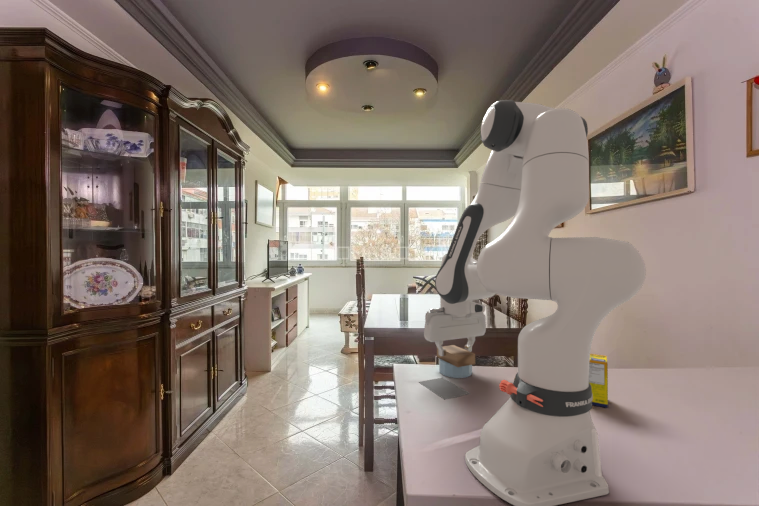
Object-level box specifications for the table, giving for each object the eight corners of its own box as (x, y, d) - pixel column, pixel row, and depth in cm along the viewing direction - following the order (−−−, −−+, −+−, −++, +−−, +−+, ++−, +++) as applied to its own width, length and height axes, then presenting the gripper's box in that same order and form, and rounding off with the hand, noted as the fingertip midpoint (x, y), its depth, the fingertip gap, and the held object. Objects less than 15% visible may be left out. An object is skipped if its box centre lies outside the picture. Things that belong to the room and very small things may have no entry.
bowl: (452, 383, 93) (452, 367, 93) (433, 372, 102) (433, 358, 102) (478, 378, 97) (478, 362, 97) (458, 368, 106) (458, 354, 106)
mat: (444, 403, 81) (444, 399, 81) (418, 385, 92) (418, 382, 92) (470, 397, 84) (470, 393, 84) (442, 380, 95) (442, 377, 95)
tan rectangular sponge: (457, 367, 94) (457, 356, 94) (436, 357, 103) (436, 347, 103) (475, 364, 96) (475, 353, 96) (453, 354, 105) (453, 344, 105)
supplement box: (607, 399, 84) (607, 355, 84) (608, 408, 78) (608, 361, 78) (579, 393, 87) (579, 351, 87) (578, 402, 82) (578, 357, 82)
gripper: (431, 310, 92) (431, 361, 92) (489, 305, 101) (489, 352, 101) (419, 307, 98) (419, 354, 98) (475, 303, 107) (475, 346, 107)
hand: (455, 353), depth 100 cm, fingers open, 8 cm apart
